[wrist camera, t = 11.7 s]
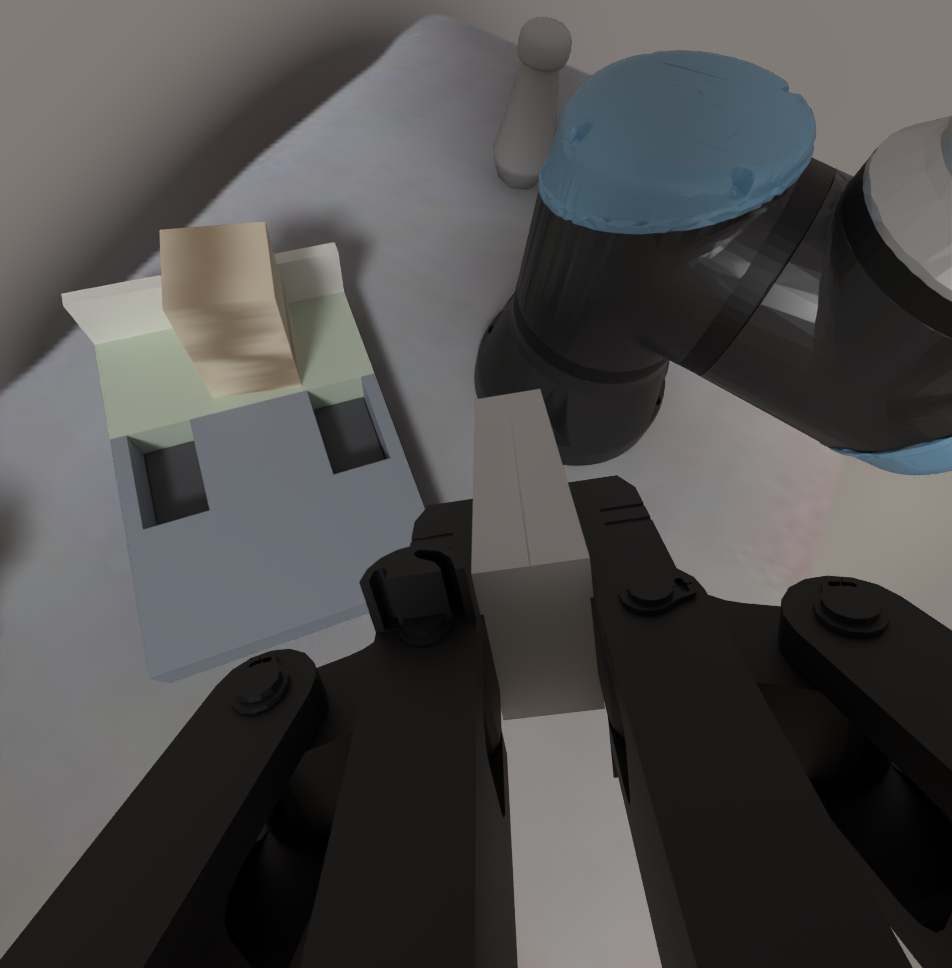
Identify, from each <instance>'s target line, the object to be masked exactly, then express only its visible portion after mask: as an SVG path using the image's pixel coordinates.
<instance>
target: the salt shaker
mask: <svg viewBox="0 0 952 968" xmlns="http://www.w3.org/2000/svg"><path fill="white" fill-rule="evenodd" d="M571 44H572V40H571V34H570V32H569V30H568V29H567V28H566V26H565V25H564V24H563V23H561V22H559V21H557V20H556V19H552V18H548V17H536V18H534V19H531V20H529V21H528V22H526V23H525V25H524V26H523V27H522V29H521V32H520V35H519V39H518V56H519V59H520V60H521V61H522V62H523V64H522V67H521V70H520V72H519V75H518V78H517V81H516V84H515V87H514V89H513V92H512V95H511V98H510V101H509V103H508V106H507V109H506V112H505V115H504V118H503V120H502V123H501V126H500V129H499V132H498V134H497V137H496V140H495V143H494V161H495V165H496V168H497V172H498V175H499V177H500V178H501V179H502V180H503V181H504V182H505V183H506V184H507V185H508V186H510V187H511V188H521V189H530V188H531V187H532V186H533V185H534V184H535V183H536V182H538V181H539V175H540V172H541V169H542V166H543V163H544V161H545V160H546V158H547V157H548V155H549V153H550V149H551V146H552V143H553V139H554V136H555V126H556V111H557V96H558V81H559V70H560V69H562V68H563V67H564V65H565V64H566V62H567V61H568V59H569V55H570V52H571Z"/></svg>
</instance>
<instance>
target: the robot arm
mask: <svg viewBox="0 0 952 968" xmlns="http://www.w3.org/2000/svg"><path fill="white" fill-rule="evenodd" d="M788 91H789V87H788V83H787V82H786V81H785V80H783V79H782V78H780V77H779V76H777V75H775V74H774V73H772V72H770V71H768V70H766V69H763V68H761V67H759V66H757V65H755V64H752V63H749V62H746V61H743V60H739V59H736V58H733V57H728V56H723V55H719V54H714V53H708V52H700V51H698V52H697V51H683V50H682V51H681V50H680V51H679V50H676V51H659V52H655V53H651V54H643V55H637V56H632V57H629V58H625V59H623V60H620V61H618V62H615V63H612V64H610V65H608V66H606V67H604V68H603V69H601V70H599V71H598V72H596V73H595V74H593V75H592V76H590V77H589V78H588V79H587V80H586V81H584V82H583V83H582V84H581V85H580V86H579V87H578V89H577V90H576V91H575V92H574V93H573V94H572V96H571V97H570V99H569V100H568V102H567V103H566V105H565V107H564V109H563V112H562V114H561V116H560V119H559V122H558V126H557V129H556V132H555V136H554V139H553V143H552V146H551V149H550V153H549V155H548V157H547V158H546V160H545V161H544V163H543V166H542V169H541V172H540V175H539V184H538V196H537V200H536V204H535V209H534V213H533V217H532V222H531V226H530V230H529V234H528V239H527V243H526V247H525V252H524V256H523V260H522V265H521V269H520V273H519V278H518V282H517V286H516V290H515V293H514V294H513V295H512V297H511V298H510V299H509V301H508V302H507V303H506V305H505V307H504V309H503V310H502V311H501V312H500V313H499V314H498V315H497V316H496V317H495V319H494V320H493V321H492V322H491V324H490V325H489V326H488V328H487V330H486V331H485V333H484V336H483V338H482V340H481V343H480V346H479V350H478V355H477V360H476V365H475V374H474V380H475V389H476V394H477V397H478V399H475V431H474V475H473V499H469V500H462V501H455V502H449V503H442V504H435V505H429V506H427V508H426V509H425V510H424V511H423V512H422V513H421V515H420V516H419V517H418V518H417V519H416V521H415V522H414V527H413V532H412V537H411V540H412V542H411V543H410V546H409V547H406V548H402V549H398V550H396V551H394V552H392V553H390V554H388V555H386V556H383V557H381V558H380V559H379V560H377V561H376V562H375V563H374V564H373V565H371V566H370V567H369V568H368V569H367V570H366V572H365V573H364V575H363V577H362V578H361V580H360V582H359V584H360V587H361V590H362V593H363V595H364V598H365V601H366V604H367V607H368V610H369V613H370V616H371V619H372V622H373V625H374V628H375V631H376V636H375V640H374V642H373V643H372V644H370V645H369V646H367V647H366V648H364V649H363V650H361V651H358V652H356V653H354V654H352V655H350V656H347V657H345V658H342V659H339V660H337V661H334V662H331V663H329V664H326V665H323V666H321V667H318V668H316V666H315V664H314V662H313V661H312V660H311V659H310V658H309V657H308V656H307V655H306V654H305V653H304V652H300V651H296V650H292V649H284V650H274V651H269V652H266V653H264V654H261V655H258V656H255V657H253V658H250V659H249V660H247V661H246V662H244V663H243V664H241V665H239V666H238V667H236V668H235V669H233V670H232V671H231V672H230V673H229V674H228V675H227V676H226V677H225V678H224V679H223V680H222V681H221V682H220V683H219V684H217V686H216V687H215V688H214V689H213V691H212V692H211V693H210V694H209V696H208V697H207V698H206V699H205V701H204V702H203V703H202V705H201V706H200V707H199V708H198V710H197V711H196V712H195V713H194V715H193V716H192V717H191V718H190V720H189V721H188V722H187V724H186V725H185V726H184V727H183V729H182V730H181V731H180V732H179V734H178V735H177V736H176V738H175V739H174V740H173V741H172V743H171V744H170V745H169V746H168V748H167V749H166V750H165V751H164V753H163V754H162V755H161V757H160V758H159V759H158V760H157V762H156V763H155V764H154V765H153V767H152V768H151V769H150V770H149V772H148V773H147V774H146V776H145V777H144V778H143V779H142V781H141V782H140V783H139V784H138V786H137V787H136V788H135V790H134V791H133V792H132V793H131V795H130V796H129V797H128V798H127V800H126V801H125V802H124V803H123V805H122V806H121V807H120V809H119V810H118V811H117V812H116V814H115V815H114V816H113V817H112V819H111V820H110V821H109V822H108V824H107V825H106V826H105V828H104V829H103V830H102V831H101V833H100V834H99V835H98V836H97V838H96V839H95V840H94V842H93V843H92V844H91V845H90V847H89V848H88V849H87V850H86V852H85V853H84V854H83V855H82V857H81V858H80V859H79V861H78V862H77V863H76V864H75V866H74V867H73V868H72V869H71V871H70V872H69V873H68V875H67V876H66V877H65V878H64V880H63V881H62V882H61V883H60V885H59V886H58V887H57V888H56V890H55V891H54V892H53V894H52V895H51V896H50V897H49V899H48V900H47V901H46V902H45V904H44V905H43V906H42V907H41V909H40V910H39V911H38V913H37V914H36V915H35V916H34V918H33V919H32V920H31V921H30V923H29V924H28V925H27V927H26V928H25V929H24V930H23V932H22V933H21V934H20V935H19V937H18V938H17V939H16V940H15V942H14V943H13V944H12V946H11V947H10V948H9V949H8V951H7V952H6V953H5V954H4V956H3V957H2V958H1V959H0V968H518V965H517V945H516V926H515V906H514V886H513V866H512V846H511V826H510V806H509V786H508V766H507V752H506V748H505V743H504V739H503V735H502V730H501V711H502V715H503V720H509V719H518V718H527V717H536V716H544V715H553V714H562V713H571V712H579V711H588V710H597V709H605V707H604V702H605V706H606V710H607V714H608V722H609V733H610V743H611V754H612V764H613V775H614V778H616V777H619V782H620V786H621V791H622V795H623V799H624V804H625V808H626V812H627V817H628V821H629V825H630V830H631V834H632V838H633V843H634V847H635V851H636V856H637V860H638V864H639V869H640V873H641V878H642V882H643V886H644V891H645V895H646V899H647V904H648V908H649V912H650V917H651V921H652V925H653V930H654V934H655V938H656V943H657V947H658V951H659V956H660V960H661V965H662V968H912V966H911V964H910V962H909V960H908V959H907V957H906V955H905V953H904V951H903V949H902V948H901V946H900V944H899V942H898V940H897V938H896V937H895V935H894V933H893V931H894V932H895V933H896V935H897V936H898V937H899V938H900V940H901V941H902V942H903V944H904V945H905V946H906V947H907V949H908V950H909V951H910V952H911V954H912V955H913V956H914V958H915V959H916V960H917V961H918V963H919V964H920V965H921V966H922V968H952V630H950V629H949V628H947V627H946V626H944V625H943V624H941V623H940V622H938V621H937V620H935V619H934V618H932V617H931V616H929V615H928V614H926V613H925V612H923V611H922V610H920V609H919V608H918V607H916V606H915V605H913V604H912V603H910V602H909V601H907V600H906V599H904V598H903V597H901V596H899V595H897V594H895V593H893V592H891V591H889V590H887V589H885V588H884V587H882V586H879V585H877V584H874V583H870V582H866V581H863V580H859V579H855V578H851V577H836V576H822V577H815V578H809V579H804V580H802V581H800V582H799V583H797V584H795V585H793V586H791V587H789V588H788V590H787V592H786V593H785V595H784V596H783V598H782V600H781V607H780V606H769V605H758V604H747V603H739V602H733V601H727V600H723V599H720V598H716V597H713V596H710V595H708V594H707V592H706V591H705V589H704V588H703V587H702V586H701V585H700V583H699V582H698V581H697V580H696V579H695V578H694V577H693V576H691V575H689V574H687V573H685V572H683V571H681V570H679V569H677V568H676V566H675V564H674V562H673V560H672V558H671V556H670V554H669V552H668V550H667V548H666V546H665V544H664V543H663V541H662V539H661V537H660V535H659V533H658V531H657V529H656V527H655V525H654V523H653V521H652V520H651V519H650V515H649V513H648V511H647V509H646V507H645V506H644V505H643V501H642V499H641V498H640V496H639V494H638V492H637V490H636V488H635V487H634V486H633V485H631V484H630V483H628V482H626V481H625V480H623V479H622V478H620V477H619V476H617V475H616V476H609V477H602V478H596V479H589V480H582V481H576V482H569V483H568V482H567V478H566V475H565V472H564V468H563V465H574V466H580V465H591V464H597V463H601V462H605V461H608V460H610V459H613V458H615V457H617V456H619V455H621V454H623V453H624V452H626V451H627V450H629V449H630V448H631V447H632V446H634V445H635V444H636V443H637V442H638V440H639V439H640V438H641V437H642V436H643V434H644V433H645V432H646V430H647V429H648V428H649V427H650V425H651V424H652V422H653V421H654V419H655V418H656V416H657V414H658V411H659V409H660V407H661V404H662V400H663V396H664V389H665V377H666V374H667V371H668V366H669V360H670V361H672V362H674V363H676V364H678V365H680V366H682V367H684V368H686V369H688V370H690V371H692V372H694V373H696V374H697V375H699V376H701V377H702V378H704V379H706V380H708V381H710V382H712V383H713V384H715V385H717V386H719V387H721V388H722V389H724V390H726V391H728V392H730V393H732V394H733V395H735V396H737V397H739V398H741V399H742V400H744V401H746V402H748V403H750V404H752V405H753V406H755V407H757V408H759V409H761V410H763V411H764V412H766V413H768V414H770V415H772V416H773V417H775V418H777V419H779V420H781V421H783V422H784V423H786V424H788V425H790V426H792V427H793V428H795V429H797V430H799V431H801V432H803V433H804V434H806V435H808V436H810V437H812V438H814V439H815V440H817V441H819V442H820V443H821V444H822V445H824V446H827V447H829V448H830V449H831V450H833V451H835V452H837V453H840V454H843V455H847V456H852V457H855V458H857V459H860V460H862V461H864V462H866V463H869V464H871V465H873V466H876V467H878V468H880V469H883V470H886V471H889V472H893V473H897V474H905V475H929V474H938V473H943V472H947V471H952V116H949V117H945V118H940V119H936V120H932V121H928V122H924V123H920V124H915V125H912V126H909V127H906V128H903V129H901V130H899V131H897V132H895V133H893V134H891V135H890V136H889V137H888V138H887V139H886V140H885V141H884V142H883V143H882V144H881V145H880V146H879V147H878V148H877V149H876V150H875V151H874V152H873V154H872V155H871V156H870V157H869V159H868V160H867V161H866V162H865V164H864V165H863V166H862V167H861V169H860V170H859V171H858V172H857V174H856V175H855V176H854V177H853V176H851V175H848V174H846V173H844V172H842V171H840V170H838V169H835V168H833V167H831V166H829V165H827V164H825V163H822V162H820V161H818V160H816V159H814V158H812V155H813V150H814V146H813V144H814V141H815V137H816V123H815V118H814V115H813V113H812V110H811V108H810V107H809V105H808V104H807V102H806V100H805V99H804V98H803V97H802V96H801V95H800V94H794V93H789V92H788ZM890 927H891V928H892V929H891V928H890ZM892 930H893V931H892Z"/></svg>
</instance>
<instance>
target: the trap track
mask: <svg viewBox="0 0 952 968" xmlns="http://www.w3.org/2000/svg"><path fill="white" fill-rule="evenodd" d="M274 256H275V259H276V263H277V267H278V270H279V274H280V277H281V281H282V285H283V288H284V292H285V295H286V299H287V303H288V306H289V310H290V313H291V317H292V321H293V328H294V335H295V342H296V349H297V356H298V363H299V370H300V378H301V385H302V386H298V387H291V388H283V389H276V390H268V391H261V392H253V393H246V394H238V395H231V396H224V397H216V398H213V396H212V395H211V393H210V391H209V389H208V388H207V386H206V384H205V382H204V381H203V379H202V377H201V376H200V374H199V372H198V370H197V369H196V367H195V365H194V363H193V362H192V360H191V358H190V356H189V355H188V353H187V351H186V350H185V348H184V346H183V344H182V343H181V341H180V339H179V337H178V336H177V334H176V332H175V330H174V329H173V327H172V325H171V324H170V322H169V320H168V318H167V317H166V315H165V313H164V311H163V310H162V283H161V275H158V276H153V277H148V278H142V279H137V280H132V281H127V282H121V283H116V284H111V285H106V286H100V287H95V288H90V289H84V290H80V291H74V292H69V293H64V294H62V301H63V306H64V307H65V308H66V310H67V311H68V312H69V313H70V315H71V316H72V317H73V318H74V320H75V321H76V322H77V323H78V325H79V326H80V327H81V328H82V330H83V331H84V332H85V333H86V335H87V336H88V337H89V338H90V340H91V341H92V342H93V343H94V345H95V351H96V357H97V363H98V369H99V375H100V382H101V388H102V394H103V400H104V406H105V412H106V418H107V424H108V430H109V436H110V443H111V449H112V455H113V461H114V467H115V473H116V479H117V485H118V491H119V497H120V503H121V510H122V516H123V522H124V528H125V534H126V540H127V546H128V552H129V558H130V564H131V571H132V577H133V583H134V589H135V595H136V601H137V607H138V613H139V619H140V625H141V631H142V638H143V644H144V650H145V656H146V662H147V668H148V674H149V678H150V679H155V680H159V681H164V682H168V683H170V682H173V681H176V680H179V679H182V678H185V677H187V676H190V675H193V674H196V673H199V672H202V671H204V670H207V669H210V668H213V667H216V666H219V665H221V664H224V663H227V662H230V661H233V660H236V659H238V658H241V657H244V656H247V655H250V654H252V653H255V652H258V651H261V650H264V649H267V648H269V647H272V646H275V645H278V644H281V643H284V642H286V641H289V640H292V639H295V638H298V637H301V636H303V635H306V634H309V633H312V632H315V631H318V630H320V629H323V628H326V627H329V626H332V625H334V624H337V623H340V622H343V621H346V620H349V619H351V618H354V617H357V616H360V615H363V614H366V613H368V612H369V610H368V607H367V604H366V601H365V598H364V595H363V593H362V590H361V587H360V584H359V582H360V580H361V578H362V577H363V575H364V573H365V572H366V570H367V569H368V568H369V567H370V566H371V565H373V564H374V563H375V562H376V561H377V560H379V559H380V558H381V557H383V556H386V555H388V554H390V553H392V552H394V551H396V550H398V549H402V548H406V547H409V546H410V543H411V542H412V540H411V537H412V532H413V527H414V522H415V521H416V519H417V518H418V517H419V516H420V515H421V513H422V512H423V511H424V510H425V508H424V505H423V502H422V500H421V497H420V494H419V492H418V489H417V486H416V484H415V481H414V478H413V476H412V473H411V470H410V468H409V465H408V462H407V459H406V457H405V454H404V451H403V449H402V446H401V443H400V441H399V438H398V435H397V433H396V430H395V427H394V425H393V422H392V419H391V417H390V414H389V411H388V408H387V406H386V403H385V400H384V398H383V395H382V392H381V390H380V387H379V384H378V382H377V379H376V376H375V374H374V371H373V368H372V365H371V363H370V360H369V357H368V355H367V352H366V349H365V347H364V344H363V341H362V339H361V336H360V333H359V331H358V328H357V325H356V323H355V320H354V317H353V314H352V312H351V309H350V306H349V304H348V301H347V298H346V296H345V293H344V288H343V281H342V274H341V267H340V260H339V253H338V250H337V247H336V245H335V242H333V243H327V244H322V245H317V246H311V247H306V248H301V249H296V250H290V251H285V252H280V253H274ZM364 400H365V402H364ZM365 403H366V405H365ZM366 406H367V408H368V410H367V408H366ZM368 411H369V413H368ZM314 412H315V415H316V418H315V415H314ZM369 414H370V416H369ZM370 417H371V419H370ZM316 419H317V421H316ZM371 420H372V422H373V424H372V422H371ZM317 422H318V425H319V428H320V431H321V434H322V437H323V440H322V437H321V434H320V431H319V428H318V425H317ZM373 425H374V427H373ZM374 428H375V430H374ZM375 431H376V433H375ZM376 434H377V436H378V438H377V436H376ZM378 439H379V441H378ZM323 441H324V444H325V447H326V450H327V453H328V456H329V459H330V462H329V459H328V456H327V453H326V450H325V447H324V444H323ZM379 442H380V444H379ZM380 445H381V447H380ZM381 448H382V450H383V452H382V450H381ZM383 453H384V455H383ZM384 456H385V458H384ZM385 459H386V460H385ZM330 463H331V466H332V469H333V472H334V475H333V472H332V469H331V466H330Z"/></svg>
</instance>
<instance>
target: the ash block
mask: <svg viewBox="0 0 952 968" xmlns="http://www.w3.org/2000/svg"><path fill="white" fill-rule="evenodd" d="M160 254H161V283H162V310H163V311H164V313H165V315H166V317H167V318H168V320H169V322H170V324H171V325H172V327H173V329H174V330H175V332H176V334H177V336H178V337H179V339H180V341H181V343H182V344H183V346H184V348H185V350H186V351H187V353H188V355H189V356H190V358H191V360H192V362H193V363H194V365H195V367H196V369H197V370H198V372H199V374H200V376H201V377H202V379H203V381H204V382H205V384H206V386H207V388H208V389H209V391H210V393H211V395H212V396H213V398H216V397H224V396H231V395H238V394H246V393H253V392H261V391H268V390H276V389H283V388H291V387H298V386H302V385H301V378H300V370H299V363H298V356H297V349H296V342H295V335H294V328H293V321H292V317H291V313H290V310H289V306H288V303H287V299H286V295H285V292H284V288H283V285H282V281H281V277H280V274H279V270H278V267H277V263H276V259H275V256H274V252H273V249H272V245H271V242H270V238H269V234H268V231H267V227H266V224H265V222H254V223H241V224H229V225H216V226H204V227H191V228H178V229H166V230H160Z"/></svg>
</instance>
